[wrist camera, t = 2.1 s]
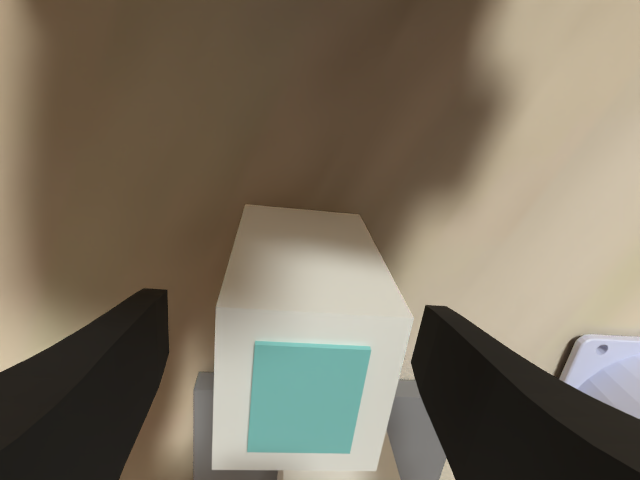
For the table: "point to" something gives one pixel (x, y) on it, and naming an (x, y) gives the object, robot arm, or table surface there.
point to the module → (305, 344)
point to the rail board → (399, 431)
